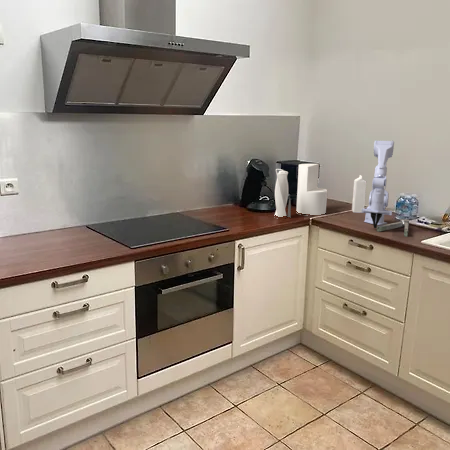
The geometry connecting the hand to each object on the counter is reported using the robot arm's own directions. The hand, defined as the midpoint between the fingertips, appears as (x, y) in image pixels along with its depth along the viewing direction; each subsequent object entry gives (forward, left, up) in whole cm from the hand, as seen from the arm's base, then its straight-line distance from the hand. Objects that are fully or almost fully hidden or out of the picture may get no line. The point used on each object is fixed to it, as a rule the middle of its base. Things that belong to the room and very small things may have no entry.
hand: (375, 227), depth 233 cm
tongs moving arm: (+3, +10, -1) cm, 10 cm away
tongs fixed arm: (+8, +13, -1) cm, 15 cm away
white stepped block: (-48, +1, -2) cm, 48 cm away
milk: (-35, +27, -2) cm, 44 cm away
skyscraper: (-47, -23, -2) cm, 52 cm away
